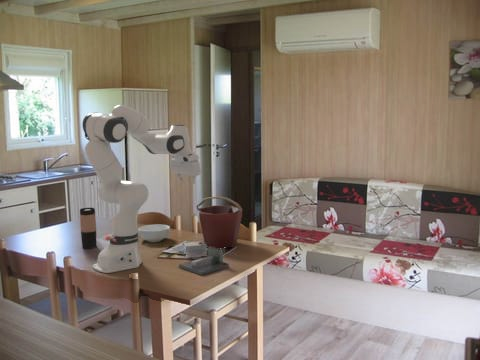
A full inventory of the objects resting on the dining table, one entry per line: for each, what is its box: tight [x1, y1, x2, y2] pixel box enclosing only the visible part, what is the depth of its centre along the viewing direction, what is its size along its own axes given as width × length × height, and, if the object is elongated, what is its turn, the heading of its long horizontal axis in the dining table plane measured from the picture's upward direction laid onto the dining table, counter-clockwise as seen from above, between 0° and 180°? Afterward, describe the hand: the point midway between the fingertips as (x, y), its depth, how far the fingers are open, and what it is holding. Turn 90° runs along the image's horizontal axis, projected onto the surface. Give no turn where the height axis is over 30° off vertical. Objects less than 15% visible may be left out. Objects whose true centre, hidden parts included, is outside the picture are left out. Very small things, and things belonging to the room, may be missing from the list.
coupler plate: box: [178, 246, 230, 276], centre depth 243 cm, size 16×16×8 cm
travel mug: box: [79, 207, 97, 250], centre depth 278 cm, size 8×8×20 cm
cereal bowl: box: [137, 223, 171, 243], centre depth 291 cm, size 17×17×7 cm
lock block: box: [183, 240, 208, 259], centre depth 262 cm, size 10×6×6 cm, turn 104°
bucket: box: [195, 196, 243, 248], centre depth 280 cm, size 24×22×25 cm
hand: (186, 182), depth 274 cm, fingers open, 8 cm apart
